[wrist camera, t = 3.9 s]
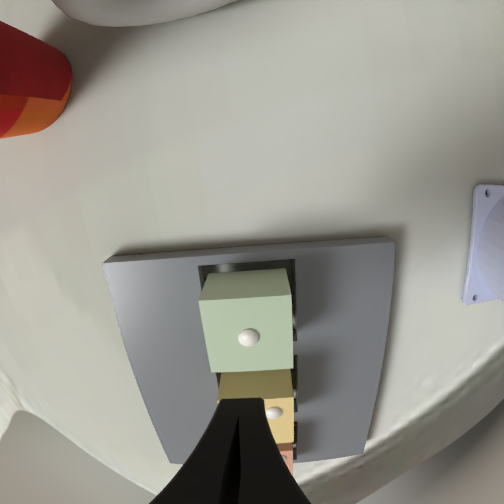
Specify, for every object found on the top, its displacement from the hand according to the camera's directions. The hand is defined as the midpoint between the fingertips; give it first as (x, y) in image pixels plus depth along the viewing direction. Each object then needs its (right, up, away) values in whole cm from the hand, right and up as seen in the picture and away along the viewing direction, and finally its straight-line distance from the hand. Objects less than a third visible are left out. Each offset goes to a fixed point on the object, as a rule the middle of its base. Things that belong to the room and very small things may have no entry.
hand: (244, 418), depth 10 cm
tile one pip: (0, +3, +8) cm, 8 cm away
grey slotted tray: (+1, -3, +11) cm, 11 cm away
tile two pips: (+1, -3, +10) cm, 10 cm away
